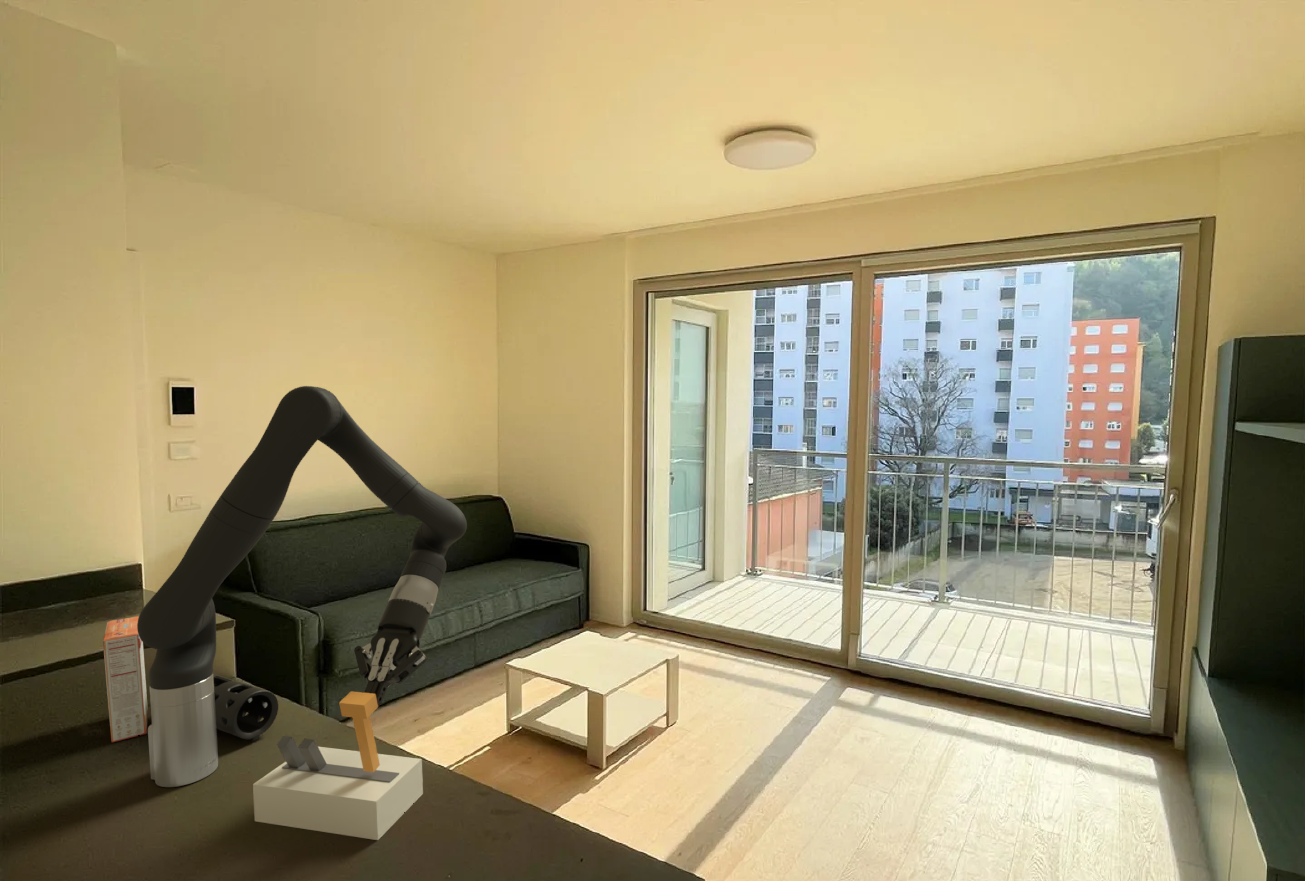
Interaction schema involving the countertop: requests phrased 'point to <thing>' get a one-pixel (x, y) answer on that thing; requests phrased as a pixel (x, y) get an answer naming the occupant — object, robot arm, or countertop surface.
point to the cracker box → (125, 679)
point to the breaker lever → (362, 725)
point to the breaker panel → (336, 790)
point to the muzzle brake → (243, 708)
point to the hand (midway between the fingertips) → (368, 707)
